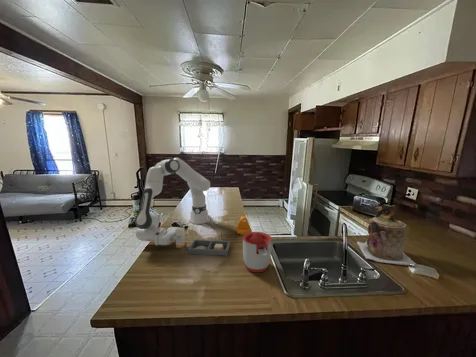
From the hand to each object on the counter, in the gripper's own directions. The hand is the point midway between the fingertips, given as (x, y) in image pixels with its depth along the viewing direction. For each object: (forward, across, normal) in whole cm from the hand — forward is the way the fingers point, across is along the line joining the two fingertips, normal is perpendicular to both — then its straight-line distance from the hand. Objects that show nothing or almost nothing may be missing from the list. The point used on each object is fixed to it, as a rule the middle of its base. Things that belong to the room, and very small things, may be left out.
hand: (181, 235), depth 139 cm
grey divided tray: (+19, +3, -7) cm, 21 cm away
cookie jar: (+126, -2, -8) cm, 126 cm away
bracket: (+39, -26, -8) cm, 48 cm away
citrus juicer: (+49, +20, -8) cm, 54 cm away
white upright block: (-1, 0, -7) cm, 7 cm away
